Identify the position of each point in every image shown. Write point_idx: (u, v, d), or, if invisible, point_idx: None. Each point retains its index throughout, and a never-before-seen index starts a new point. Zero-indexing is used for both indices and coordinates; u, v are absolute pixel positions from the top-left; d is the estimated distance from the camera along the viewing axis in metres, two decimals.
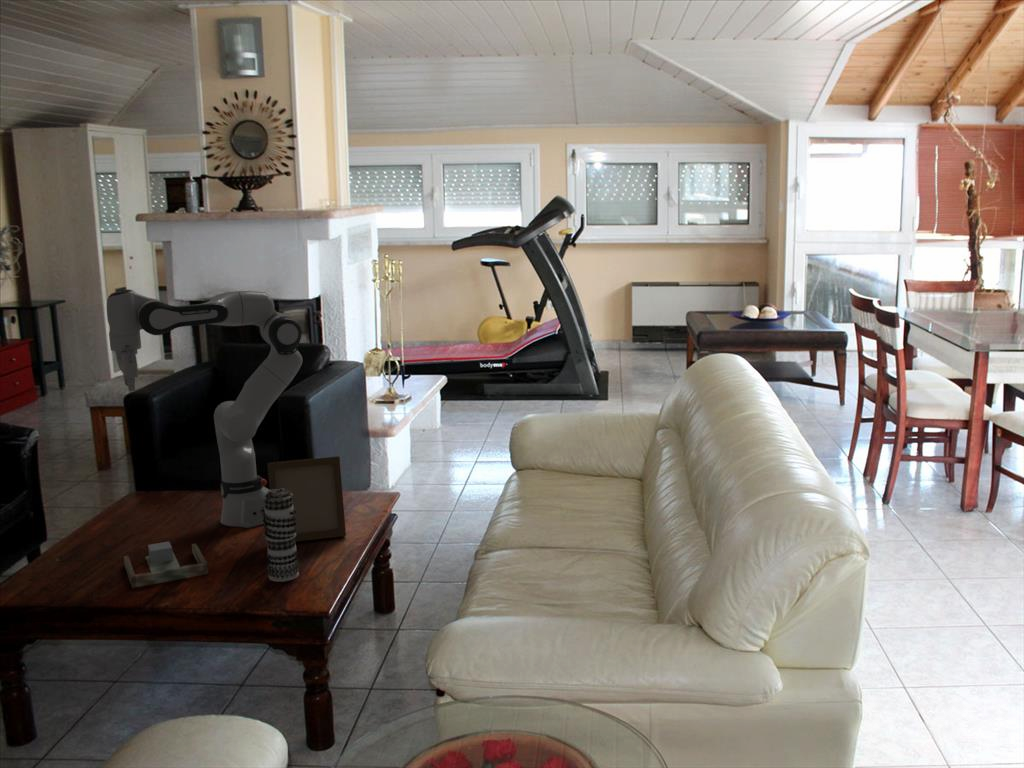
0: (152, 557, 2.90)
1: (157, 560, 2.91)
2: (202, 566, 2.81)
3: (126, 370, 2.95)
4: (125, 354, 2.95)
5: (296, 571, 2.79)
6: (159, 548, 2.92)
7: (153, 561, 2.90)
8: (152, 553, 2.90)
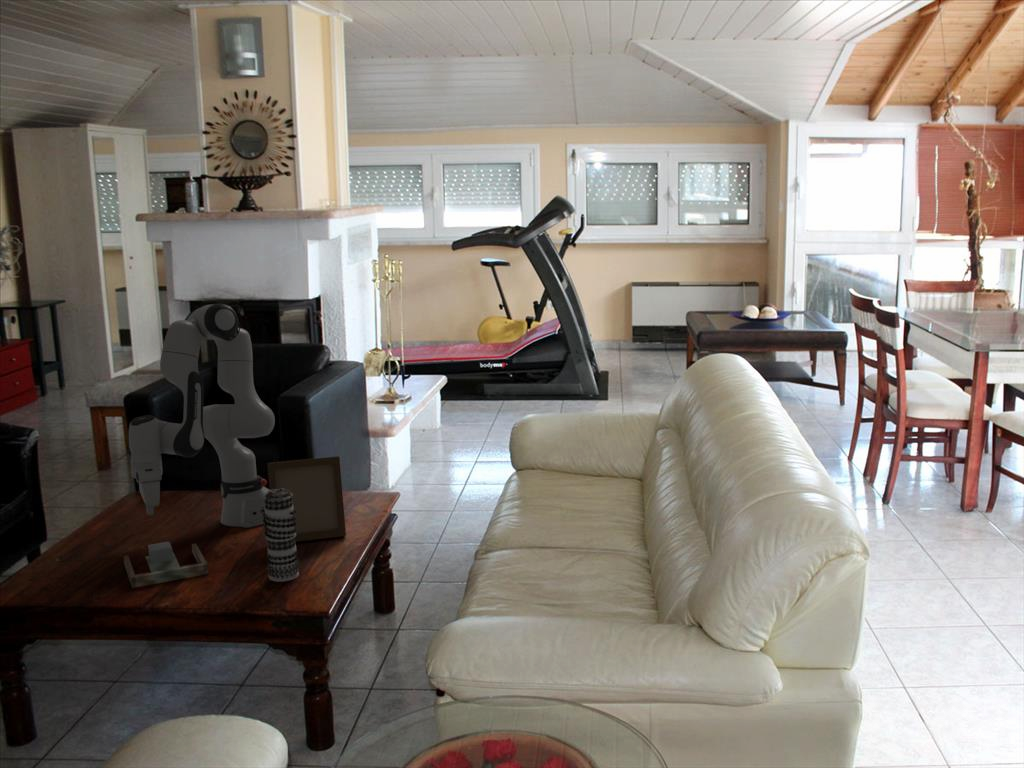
0: (152, 557, 2.90)
1: (157, 560, 2.91)
2: (202, 566, 2.81)
3: None
4: None
5: (296, 571, 2.79)
6: (159, 548, 2.92)
7: (153, 561, 2.90)
8: (152, 553, 2.90)
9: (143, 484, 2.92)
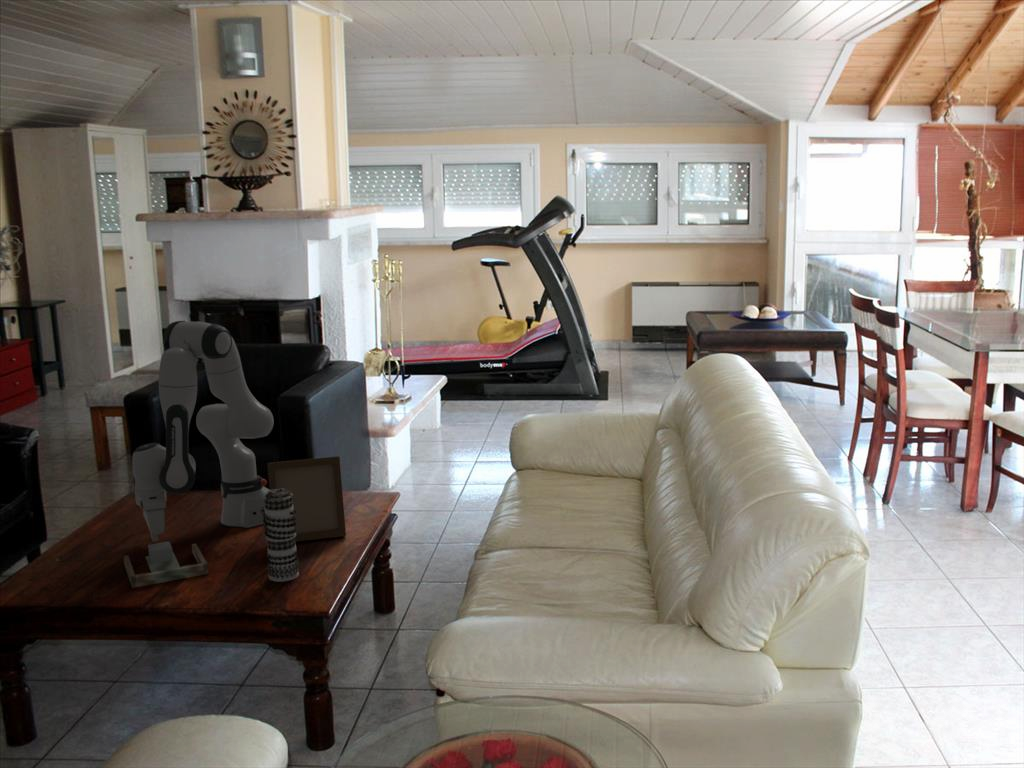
0: (152, 557, 2.90)
1: (157, 560, 2.91)
2: (202, 566, 2.81)
3: None
4: None
5: (296, 571, 2.79)
6: (159, 548, 2.92)
7: (153, 561, 2.90)
8: (152, 553, 2.90)
9: (148, 512, 2.93)
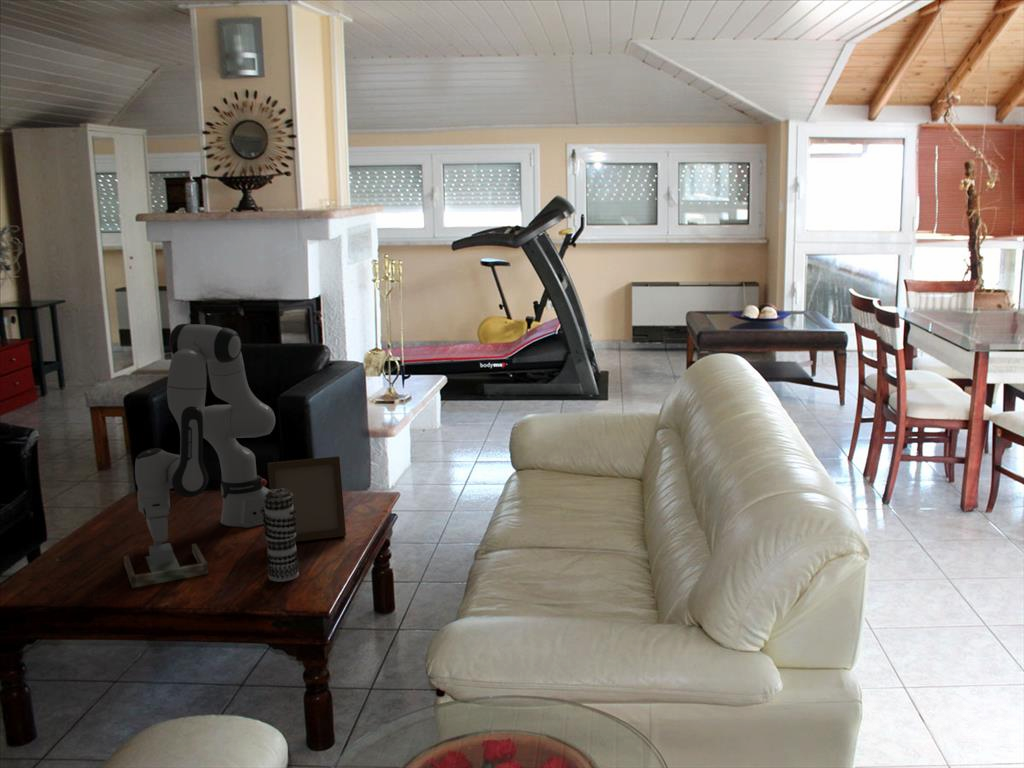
0: (152, 559, 2.89)
1: (158, 562, 2.90)
2: (202, 566, 2.81)
3: None
4: None
5: (296, 571, 2.79)
6: (160, 550, 2.90)
7: (153, 563, 2.89)
8: (152, 555, 2.89)
9: (150, 520, 2.86)
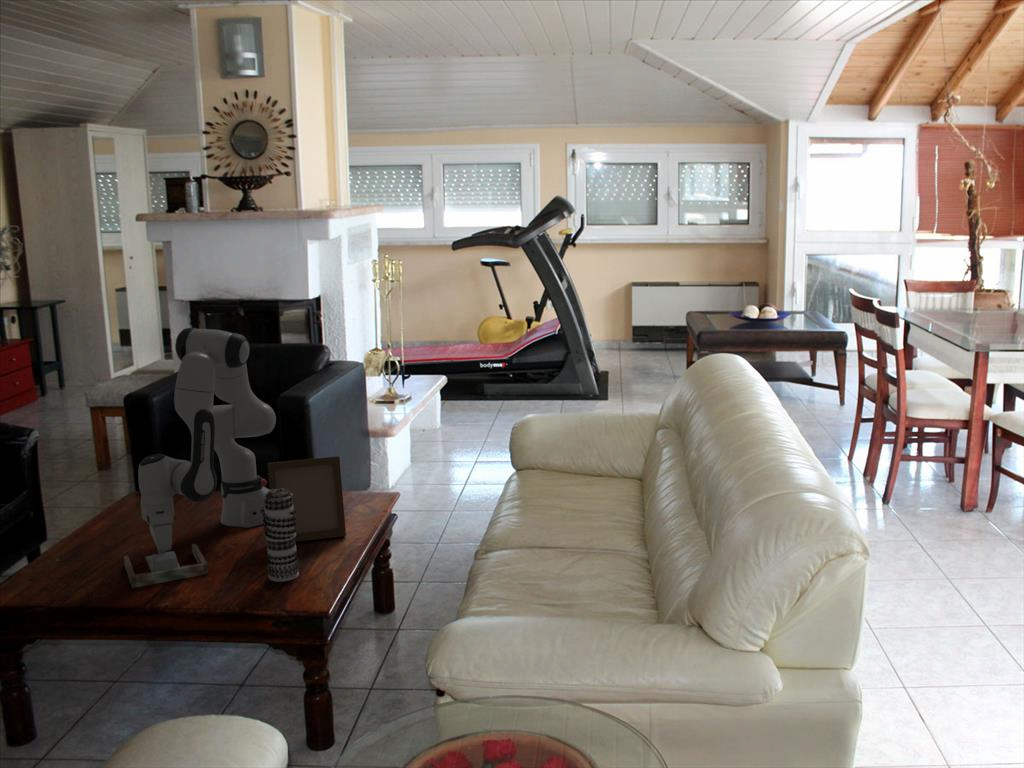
0: (156, 567, 2.82)
1: (161, 570, 2.83)
2: (202, 566, 2.81)
3: None
4: None
5: (296, 571, 2.79)
6: (163, 558, 2.84)
7: (157, 571, 2.82)
8: (156, 563, 2.82)
9: (154, 528, 2.79)
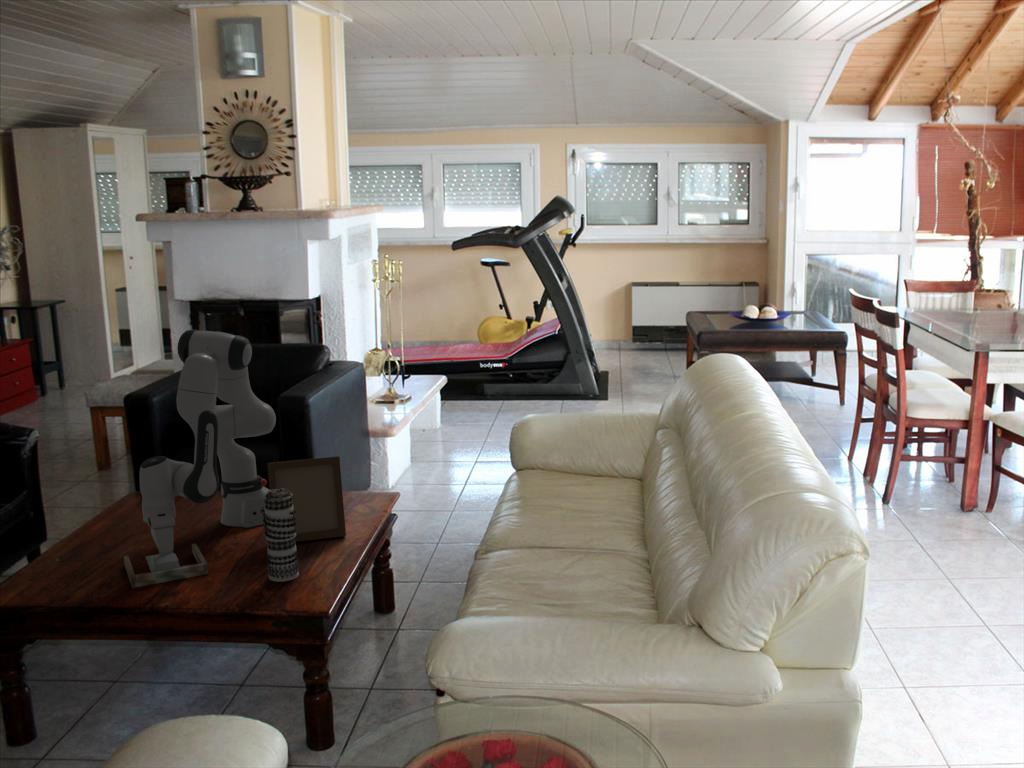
0: (158, 570, 2.80)
1: None
2: (202, 566, 2.81)
3: None
4: None
5: (296, 571, 2.79)
6: (165, 561, 2.82)
7: None
8: (158, 566, 2.80)
9: (156, 530, 2.77)
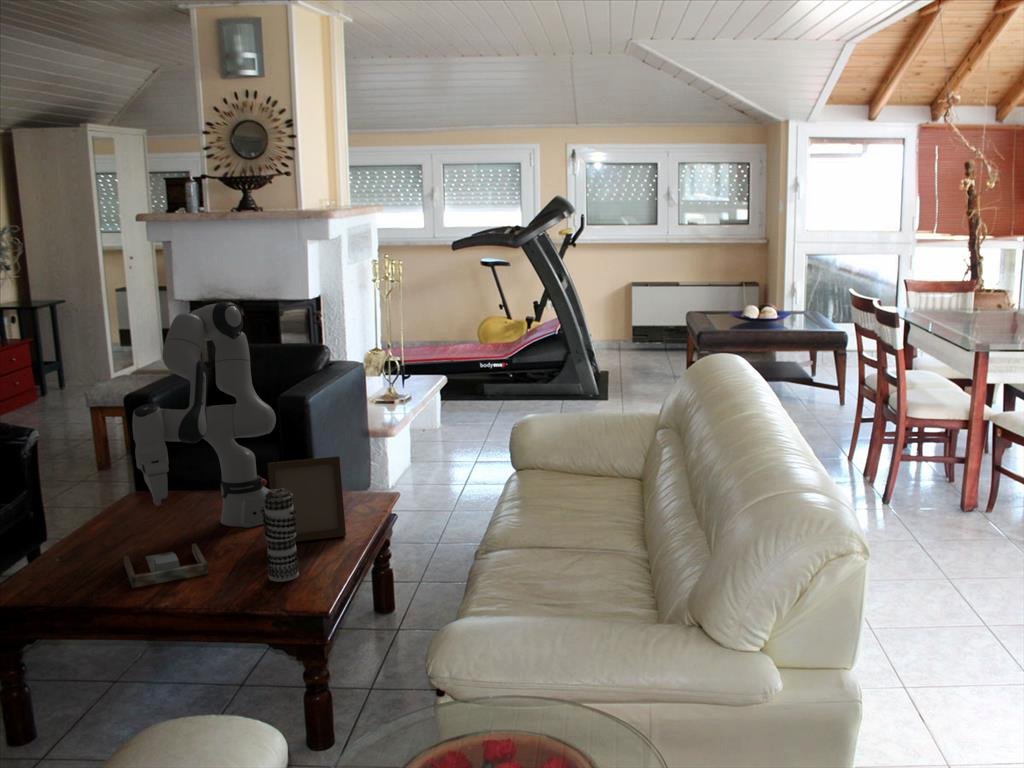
0: (158, 570, 2.80)
1: None
2: (202, 566, 2.81)
3: None
4: None
5: (296, 571, 2.79)
6: (165, 561, 2.82)
7: None
8: (158, 566, 2.80)
9: (150, 477, 2.84)
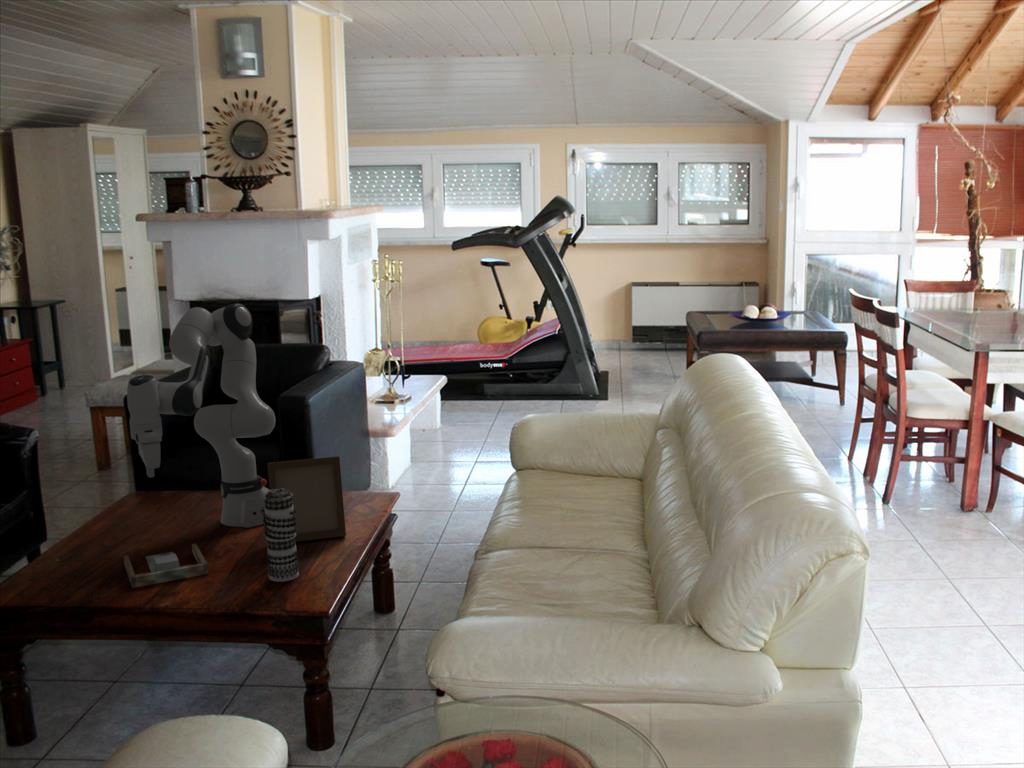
0: (158, 570, 2.80)
1: None
2: (202, 566, 2.81)
3: None
4: None
5: (296, 571, 2.79)
6: (165, 561, 2.82)
7: None
8: (158, 566, 2.80)
9: (143, 445, 2.84)
